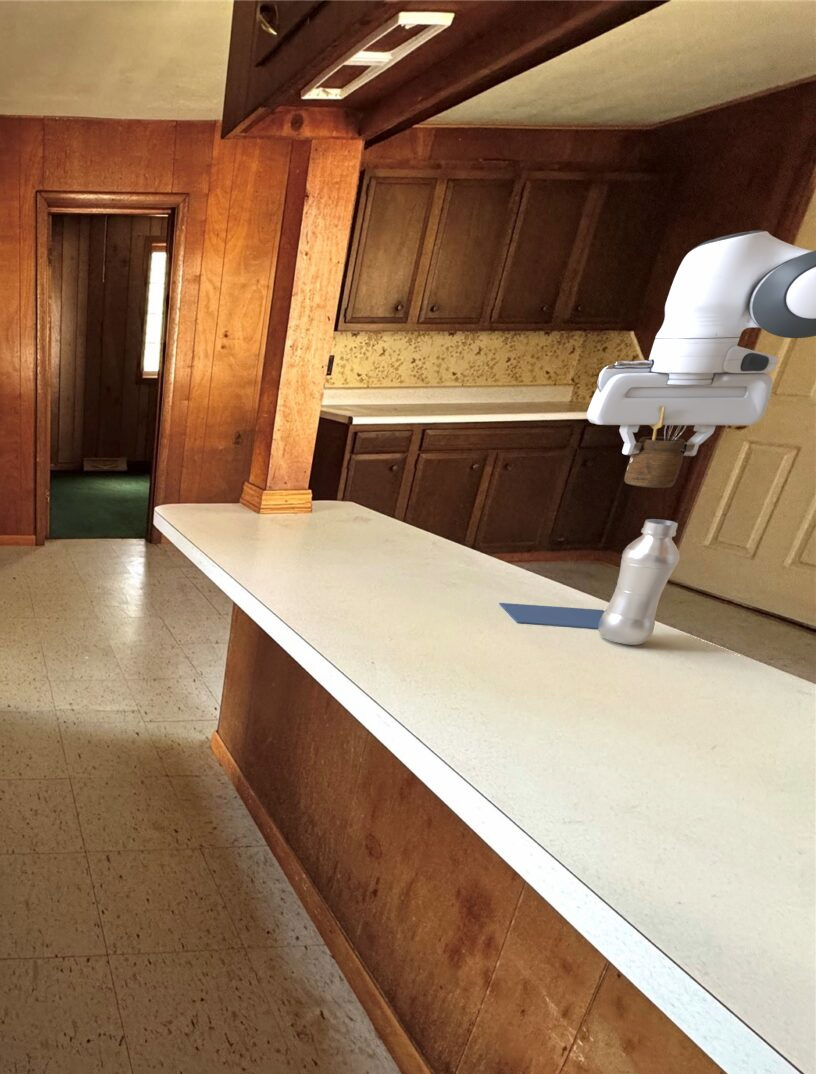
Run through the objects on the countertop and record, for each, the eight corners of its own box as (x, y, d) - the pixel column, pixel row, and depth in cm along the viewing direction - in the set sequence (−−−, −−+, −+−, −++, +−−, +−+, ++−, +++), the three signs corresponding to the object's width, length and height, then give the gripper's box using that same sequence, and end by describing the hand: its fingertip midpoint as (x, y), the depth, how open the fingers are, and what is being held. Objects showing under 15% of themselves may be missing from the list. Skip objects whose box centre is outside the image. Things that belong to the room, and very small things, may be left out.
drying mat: (602, 611, 119) (603, 609, 118) (628, 631, 111) (629, 630, 110) (499, 604, 123) (499, 602, 123) (517, 623, 115) (517, 621, 115)
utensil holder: (683, 486, 101) (711, 405, 97) (654, 490, 100) (682, 408, 95) (639, 479, 107) (664, 402, 102) (611, 482, 105) (636, 404, 100)
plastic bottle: (584, 632, 111) (621, 516, 104) (629, 633, 110) (670, 516, 103) (611, 649, 105) (652, 527, 98) (659, 650, 104) (703, 528, 97)
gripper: (614, 361, 96) (586, 457, 101) (794, 358, 91) (755, 459, 96) (593, 360, 102) (568, 450, 107) (761, 356, 96) (726, 452, 101)
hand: (657, 454), depth 101 cm, fingers closed on utensil holder, 5 cm apart
